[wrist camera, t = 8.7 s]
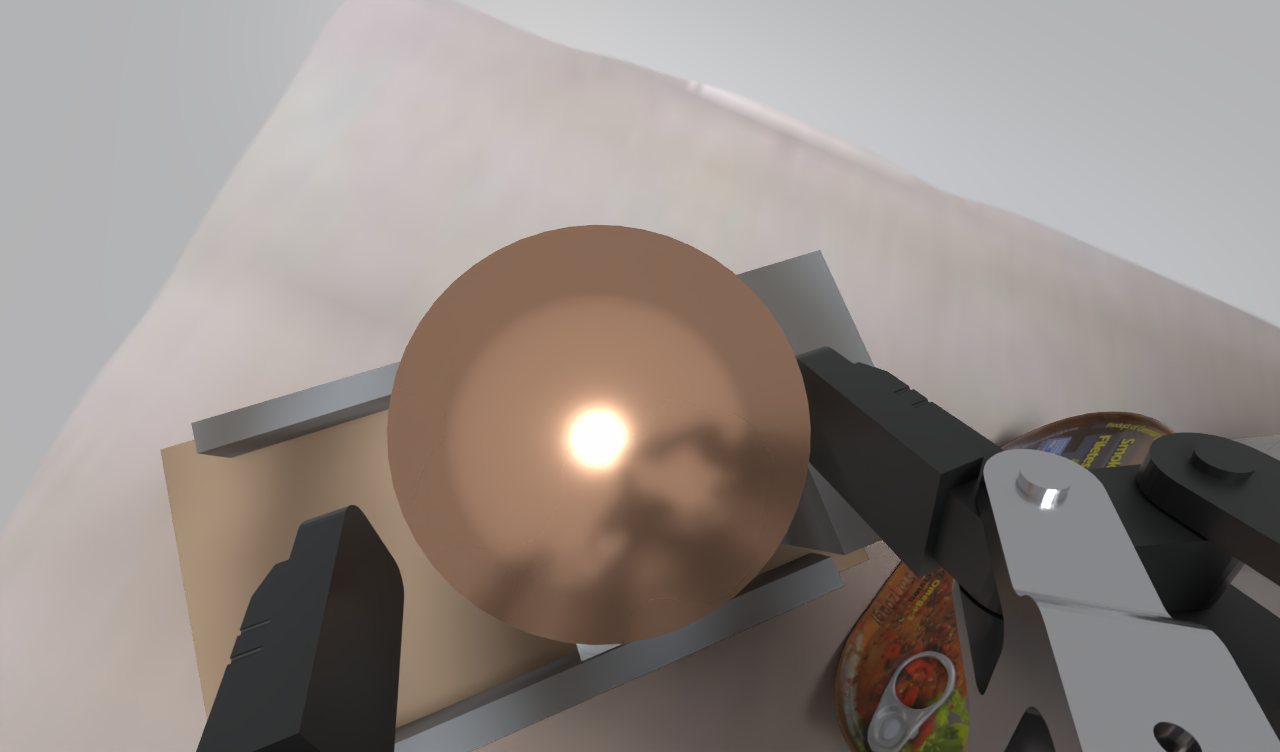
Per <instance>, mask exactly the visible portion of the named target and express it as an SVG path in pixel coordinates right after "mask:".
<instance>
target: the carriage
mask: <svg viewBox="0 0 1280 752" xmlns="http://www.w3.org/2000/svg"><path fill="white" fill-rule="evenodd" d="M810 435H811V425H810V415H809V406H808V399H807V394H806V390H805V386H804V381H803V377H802V374H801V371H800V368H799V366H798V363H797V360H796V357H795V355H794V352H793V350H792V348H791V346H790V344H789V342H788V340H787V338H786V336H785V334H784V332H783V330H782V329H781V327H780V326H779V324H778V323H777V321H776V320H775V318H774V317H773V315H772V314H771V312H770V311H769V309H768V308H767V307H766V306H765V304H764V303H763V302H762V301H761V300H760V299H759V297H758V296H757V295H756V294H755V293H754V292H753V290H752V289H751V288H749V287H748V286H747V285H746V284H745V283H744V282H743V281H742V280H741V279H740V278H739V277H737V276H736V275H735V274H734V273H733V272H732V271H730V270H729V269H728V268H726V267H725V266H723V265H722V264H721V263H719V262H718V261H716V260H715V259H714V258H712V257H710V256H708V255H707V254H705V253H703V252H701V251H699V250H698V249H696V248H694V247H692V246H690V245H688V244H685V243H683V242H680V241H678V240H675V239H673V238H671V237H668V236H664V235H661V234H657V233H654V232H650V231H647V230H642V229H636V228H629V227H623V226H608V225H588V226H575V227H567V228H562V229H557V230H552V231H547V232H543V233H540V234H537V235H534V236H531V237H527V238H524V239H521V240H519V241H517V242H515V243H512V244H510V245H508V246H506V247H504V248H502V249H500V250H498V251H496V252H494V253H492V254H491V255H489V256H488V257H486V258H485V259H483V260H481V261H480V262H478V263H477V264H475V265H474V266H472V267H471V268H470V269H469V270H468V271H466V272H465V273H464V274H463V275H461V276H460V277H459V278H458V279H457V280H455V281H454V282H453V283H452V284H451V285H450V286H449V287H448V288H447V289H446V290H445V292H444V293H443V294H442V295H441V296H440V297H439V298H438V299H437V300H436V301H435V302H434V304H433V305H432V306H431V308H430V309H429V311H428V312H427V313H426V315H425V316H424V317H423V319H422V320H421V322H420V323H419V325H418V327H417V328H416V330H415V332H414V334H413V336H412V338H411V339H410V341H409V343H408V345H407V347H406V349H405V352H404V354H403V357H402V359H401V362H400V365H399V367H398V370H397V372H396V376H395V380H394V384H393V389H392V393H391V397H390V402H389V413H388V423H387V444H388V460H389V466H390V471H391V477H392V482H393V487H394V490H395V493H396V496H397V499H398V502H399V505H400V508H401V511H402V514H403V517H404V519H405V520H406V522H407V524H408V526H409V528H410V530H411V532H412V534H413V536H414V538H415V540H416V542H417V544H418V545H419V547H420V548H421V549H422V551H423V552H424V554H425V555H426V557H427V558H428V559H429V561H430V562H431V564H432V565H433V567H434V568H435V569H436V570H437V571H438V572H439V573H440V574H441V575H442V576H443V577H444V578H445V579H446V580H447V582H448V583H449V584H450V585H451V586H452V587H453V588H454V589H455V590H456V591H458V592H459V593H460V594H461V595H463V596H464V597H465V598H466V599H468V600H469V601H470V602H472V603H473V604H474V605H475V606H477V607H478V608H479V609H481V610H483V611H484V612H486V613H488V614H490V615H491V616H493V617H495V618H496V619H498V620H500V621H502V622H503V623H505V624H507V625H510V626H512V627H515V628H517V629H520V630H522V631H525V632H527V633H530V634H532V635H535V636H539V637H544V638H548V639H552V640H556V641H560V642H565V643H576V645H577V648H578V651H579V655H580V658H581V661H583V660H586V659H588V658H591V657H593V656H595V655H598V654H600V653H602V652H605V651H607V650H609V649H612V648H614V647H616V646H619V645H621V644H626V643H631V642H636V641H641V640H646V639H651V638H656V637H659V636H662V635H664V634H667V633H670V632H673V631H676V630H679V629H682V628H684V627H686V626H688V625H690V624H692V623H694V622H696V621H698V620H700V619H702V618H703V617H705V616H707V615H709V614H711V613H712V612H714V611H715V610H716V609H718V608H719V607H721V606H722V605H724V604H725V603H726V602H728V601H729V600H731V599H732V598H733V597H735V596H736V595H737V594H738V593H739V592H740V591H741V590H742V589H743V588H744V587H745V586H746V585H747V584H748V583H749V582H751V581H752V580H753V579H754V578H755V577H756V575H757V574H758V573H759V572H760V570H761V569H762V568H763V567H764V566H765V564H766V563H767V562H768V561H769V559H770V558H771V557H772V556H773V554H774V552H775V551H776V549H777V548H778V546H779V544H780V543H781V541H782V539H783V538H784V536H785V534H786V533H787V531H788V529H789V526H790V524H791V522H792V520H793V517H794V515H795V513H796V510H797V508H798V506H799V502H800V499H801V495H802V492H803V489H804V485H805V482H806V477H807V470H808V464H809V457H810Z"/></svg>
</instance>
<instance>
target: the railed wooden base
mask: <svg viewBox="0 0 1280 752" xmlns="http://www.w3.org/2000/svg"><path fill="white" fill-rule="evenodd" d="M736 276H737V277H739V278H740V279H741V280H742V281H743V282H744V283H745V284H746V285H747V286H748V287H749V288H751V289H752V290H753V292H754V293H755V294H756V295H757V296H758V297H759V299H760V300H761V301H762V302H763V303H764V304H765V306H766V307H767V308H768V309H769V311H770V312H771V314H772V315H773V317H774V318H775V320H776V321H777V323H778V324H779V326H780V327H781V329H782V330H783V332H784V334H785V336H786V338H787V340H788V342H789V344H790V346H791V348H792V350H793V352H794V355H795V356H797V355H800V354H803V353H806V352H809V351H812V350H815V349H818V348H821V347H824V346H827V347H830V348H832V349H833V350H835V351H836V352H838V353H839V354H841V355H842V356H843V357H845V358H846V359H848V360H849V361H850V362H852V363H853V364H854V363H857V362H861V363H864V364H867V365H870V366H872V367H874V365H873V363H872V361H871V359H870V356H869V354H868V352H867V350H866V348H865V346H864V344H863V341H862V339H861V337H860V335H859V333H858V331H857V328H856V326H855V324H854V322H853V320H852V318H851V316H850V313H849V311H848V309H847V307H846V305H845V303H844V301H843V298H842V296H841V294H840V292H839V290H838V288H837V285H836V283H835V281H834V279H833V277H832V275H831V273H830V270H829V268H828V266H827V264H826V262H825V260H824V258H823V255H822V253H821V251H820V250H818V251H815V252H812V253H808V254H805V255H802V256H798V257H795V258H792V259H788V260H785V261H782V262H778V263H775V264H772V265H768V266H765V267H762V268H758V269H755V270H752V271H748V272H745V273H742V274H738V275H736ZM399 365H400V362H397V363H394V364H390V365H387V366H384V367H380V368H377V369H374V370H370V371H367V372H363V373H360V374H357V375H353V376H350V377H346V378H343V379H340V380H336V381H333V382H329V383H326V384H323V385H319V386H316V387H313V388H309V389H306V390H302V391H299V392H296V393H292V394H289V395H285V396H282V397H279V398H275V399H272V400H269V401H265V402H262V403H258V404H255V405H252V406H248V407H245V408H241V409H238V410H235V411H231V412H228V413H225V414H221V415H218V416H214V417H211V418H208V419H204V420H201V421H197V422H194V423H192V428H193V433H194V439H195V440H192V441H188V442H185V443H182V444H178V445H175V446H172V447H168V448H165V449H162V450H161V455H162V461H163V467H164V473H165V478H166V484H167V490H168V496H169V502H170V507H171V513H172V519H173V525H174V531H175V536H176V542H177V548H178V554H179V560H180V565H181V571H182V577H183V583H184V589H185V594H186V600H187V606H188V612H189V618H190V623H191V629H192V635H193V641H194V647H195V652H196V658H197V664H198V670H199V676H200V681H201V687H202V693H203V699H204V705H205V710H206V716H207V720H208V717H209V715H210V712H211V709H212V706H213V703H214V700H215V698H216V695H217V692H218V689H219V686H220V684H221V681H222V678H223V675H224V672H225V670H226V667H227V665H228V664H231V659H230V655H231V653H232V650H233V647H234V644H235V641H236V639H237V636H239V635H241V631H240V627H241V625H242V622H243V619H244V616H245V613H246V610H247V608H248V605H249V602H250V599H251V597H252V595H253V594H254V592H255V591H256V590H257V588H258V587H259V586H260V584H261V583H262V582H263V580H264V579H265V578H266V576H267V575H268V573H269V572H270V571H271V569H272V568H273V567H274V565H275V564H277V563H280V562H283V561H286V560H289V558H290V554H291V551H292V548H293V545H294V541H295V538H296V535H297V531H298V529H299V526H300V525H301V523H302V522H303V521H305V520H308V519H311V518H314V517H317V516H320V515H323V514H326V513H329V512H332V511H335V510H337V509H340V508H343V507H346V506H349V505H356V506H357V507H359V508H360V509H361V510H362V512H363V513H364V514H365V516H366V517H367V519H368V520H369V522H370V523H371V525H372V526H373V528H374V529H375V531H376V532H377V534H378V535H379V537H380V538H381V540H382V541H383V543H384V544H385V546H386V547H387V549H388V550H389V552H390V553H391V555H392V556H393V558H394V559H395V561H396V563H397V565H398V567H399V570H400V573H401V576H402V580H403V585H404V610H403V625H402V641H401V656H400V671H399V686H398V702H397V717H396V732H395V747H394V752H471V751H473V750H475V749H478V748H480V747H482V746H484V745H487V744H489V743H491V742H493V741H496V740H498V739H500V738H502V737H505V736H507V735H509V734H511V733H514V732H516V731H518V730H520V729H523V728H525V727H527V726H529V725H532V724H534V723H536V722H538V721H541V720H543V719H545V718H548V717H550V716H552V715H554V714H557V713H559V712H561V711H563V710H566V709H568V708H570V707H572V706H575V705H577V704H579V703H581V702H584V701H586V700H588V699H590V698H593V697H595V696H597V695H599V694H602V693H604V692H606V691H608V690H611V689H613V688H615V687H617V686H620V685H622V684H624V683H627V682H629V681H631V680H633V679H636V678H638V677H640V676H642V675H645V674H647V673H649V672H651V671H654V670H656V669H658V668H660V667H663V666H665V665H667V664H669V663H672V662H674V661H676V660H678V659H681V658H683V657H685V656H687V655H690V654H692V653H694V652H696V651H699V650H701V649H703V648H706V647H708V646H710V645H712V644H715V643H717V642H719V641H721V640H724V639H726V638H728V637H730V636H733V635H735V634H737V633H739V632H742V631H744V630H746V629H748V628H751V627H753V626H755V625H757V624H760V623H762V622H764V621H766V620H769V619H771V618H773V617H775V616H778V615H780V614H782V613H785V612H787V611H789V610H791V609H794V608H796V607H798V606H800V605H803V604H805V603H807V602H809V601H812V600H814V599H816V598H818V597H821V596H823V595H825V594H827V593H830V592H832V591H834V590H836V589H839V588H841V587H843V586H844V585H843V582H842V580H841V578H840V575H839V572H841V571H844V570H846V569H848V568H851V567H853V566H855V565H857V564H860V563H862V562H864V561H867V560H869V557H868V555H867V553H866V550H865V548H864V547H866V546H868V545H870V544H873V543H875V542H877V541H880V540H882V539H881V538H880V537H879V536H878V535H877V534H876V532H875V531H874V530H873V529H872V528H871V527H870V526H869V525H868V524H867V523H866V522H865V521H864V520H863V519H862V518H861V517H860V515H859V514H858V513H857V512H856V511H855V510H854V509H853V508H852V507H851V506H850V505H849V504H848V503H847V502H846V501H845V500H844V498H843V497H842V496H841V495H840V494H839V493H838V492H837V491H836V490H835V489H834V488H833V487H832V486H831V485H830V484H829V483H828V482H827V480H826V479H825V478H824V477H823V476H822V475H821V474H820V473H819V472H818V471H817V470H816V469H815V468H814V467H813V466H812V465H811V463H810V462H809V464H808V470H807V477H806V482H805V485H804V489H803V492H802V495H801V499H800V502H799V506H798V508H797V510H796V513H795V515H794V517H793V520H792V522H791V524H790V526H789V529H788V531H787V533H786V534H785V536H784V538H783V539H782V541H781V543H780V544H779V546H778V548H777V549H776V551H775V552H774V554H773V556H772V557H771V558H770V559H769V561H768V562H767V563H766V564H765V566H764V567H763V568H762V569H761V570H760V572H759V573H758V574H757V575H756V577H755V578H754V579H753V580H752V581H751V582H749V583H748V584H747V585H746V586H745V587H744V588H743V589H742V590H741V591H740V592H739V593H738V594H737V595H736V596H735V597H733V598H732V599H731V600H729V601H728V602H726V603H725V604H724V605H722V606H721V607H719V608H718V609H716V610H715V611H714V612H712V613H711V614H709V615H707V616H705V617H703V618H702V619H700V620H698V621H696V622H694V623H692V624H690V625H688V626H686V627H684V628H682V629H679V630H676V631H673V632H670V633H667V634H664V635H662V636H659V637H656V638H651V639H646V640H641V641H636V642H631V643H626V644H621V645H619V646H616V647H614V648H612V649H609V650H607V651H605V652H602V653H600V654H598V655H595V656H593V657H591V658H588V659H586V660H583V661H581V658H580V655H579V651H578V648H577V645H576V643H565V642H560V641H556V640H552V639H548V638H544V637H539V636H535V635H532V634H530V633H527V632H525V631H522V630H520V629H517V628H515V627H512V626H510V625H507V624H505V623H503V622H502V621H500V620H498V619H496V618H495V617H493V616H491V615H490V614H488V613H486V612H484V611H483V610H481V609H479V608H478V607H477V606H475V605H474V604H473V603H472V602H470V601H469V600H468V599H466V598H465V597H464V596H463V595H461V594H460V593H459V592H458V591H456V590H455V589H454V588H453V587H452V586H451V585H450V584H449V583H448V582H447V580H446V579H445V578H444V577H443V576H442V575H441V574H440V573H439V572H438V571H437V570H436V569H435V568H434V567H433V565H432V564H431V562H430V561H429V559H428V558H427V557H426V555H425V554H424V552H423V551H422V549H421V548H420V547H419V545H418V544H417V542H416V540H415V538H414V536H413V534H412V532H411V530H410V528H409V526H408V524H407V522H406V520H405V519H404V517H403V514H402V511H401V508H400V505H399V502H398V499H397V496H396V493H395V490H394V487H393V482H392V477H391V471H390V466H389V460H388V444H387V423H388V413H389V402H390V397H391V393H392V389H393V384H394V380H395V376H396V372H397V370H398V367H399Z"/></svg>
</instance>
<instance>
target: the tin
mask: <svg viewBox="0 0 1280 752" xmlns="http://www.w3.org/2000/svg"><path fill="white" fill-rule="evenodd" d="M1173 433H1174V432H1173V431H1172V430H1171V429H1170V428H1169V427H1168V426H1166V425H1165V424H1164V423H1162V422H1160V421H1158V420H1156V419H1153V418H1150V417H1146V416H1143V415H1140V414H1135V413H1128V412H1098V413H1088V414H1084V415H1079V416H1074V417H1070V418H1066V419H1063V420H1060V421H1057V422H1054V423H1050V424H1048V425H1045V426H1043V427H1040V428H1038V429H1036V430H1034V431H1031V432H1029V433H1027V434H1024V435H1022V436H1020V437H1018V438H1016V439H1015V440H1013V441H1011V442H1009V443H1007V444H1006V445H1004V446H1002V447H1000V448H1001V449H1003V450H1005V451H1007V450H1012V449H1032V450H1040V451H1044V452H1049V453H1053V454H1056V455H1059V456H1062V457H1064V458H1067V459H1069V460H1071V461H1073V462H1075V463H1077V464H1079V465H1081V466H1082V467H1084V468H1085V469H1096V468H1106V467H1117V466H1127V465H1138V464H1142V462H1143V460H1144V458H1145V456H1146V454H1147V452H1148V450H1149V448H1150V446H1151V444H1152V443H1153V442H1154V441H1155V440H1156V439H1157V438H1159V437H1162V436H1164V435H1168V434H1173ZM953 579H954V578H953V577H952V576H951V575H950V574H949V573H948V572H947V571H946V570H945V569H944V568H941V569H939V570H936V571H934V572H932V573H930V574H927V575H925V576H923V577H921V578H918V577H917V576H916V575H915V574H914V573H913V572H912V571H911V570H910V569H909V567H908V566H907V565H906V564H905V563H904V562H903V561H902V562H901V563H900V565H899V566H898V567H897V569H896V570H895V571H894V573H893V574H892V575H891V577H890V578H889V579H888V581H887V582H886V584H885V585H884V586H883V588H882V589H881V591H880V592H879V593H878V595H877V596H876V597H875V599H874V600H873V602H872V603H871V604H870V606H869V607H868V608H867V610H866V611H865V613H864V614H863V615H862V617H861V618H860V620H859V621H858V623H857V624H856V626H855V627H854V629H853V630H852V632H851V634H850V636H849V638H848V640H847V642H846V645H845V647H844V649H843V652H842V655H841V658H840V661H839V665H838V668H837V673H836V680H835V691H834V701H835V710H836V716H837V720H838V724H839V727H840V729H841V732H842V734H843V737H844V739H845V741H846V743H847V744H848V746H849V748H850V749H851V751H852V752H969V728H970V705H969V697H968V690H967V684H966V678H965V671H964V665H963V659H962V653H961V646H960V640H959V634H958V627H957V621H956V615H955V608H954V602H953V596H952V583H953Z"/></svg>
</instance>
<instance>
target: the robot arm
mask: <svg viewBox="0 0 1280 752" xmlns="http://www.w3.org/2000/svg"><path fill="white" fill-rule="evenodd" d="M795 357H796V360H797V363H798V366H799V368H800V371H801V374H802V377H803V381H804V386H805V390H806V394H807V399H808V406H809V415H810V425H811V435H810V457H809V462H810V463H811V465H812V466H813V467H814V468H815V469H816V470H817V471H818V472H819V473H820V474H821V475H822V476H823V477H824V478H825V479H826V480H827V482H828V483H829V484H830V485H831V486H832V487H833V488H834V489H835V490H836V491H837V492H838V493H839V494H840V495H841V496H842V497H843V498H844V500H845V501H846V502H847V503H848V504H849V505H850V506H851V507H852V508H853V509H854V510H855V511H856V512H857V513H858V514H859V515H860V517H861V518H862V519H863V520H864V521H865V522H866V523H867V524H868V525H869V526H870V527H871V528H872V529H873V530H874V531H875V532H876V534H877V535H878V536H879V537H880V538H881V539H882V540H883V541H884V542H885V543H886V544H887V545H888V546H889V547H890V548H891V549H892V550H893V552H894V553H895V554H896V555H897V556H898V557H899V558H900V559H901V560H902V561H903V562H904V563H905V564H906V565H907V566H908V567H909V569H910V570H911V571H912V572H913V573H914V574H915V575H916V576H917V577H918V578H921V577H923V576H925V575H927V574H930V573H932V572H934V571H936V570H939V569H941V568H944V569H945V570H946V571H947V572H948V573H949V574H950V575H951V576H952V577H953V578H954V579H953V583H952V596H953V602H954V608H955V615H956V621H957V627H958V634H959V640H960V646H961V653H962V659H963V665H964V671H965V678H966V684H967V690H968V697H969V705H970V728H969V752H1280V434H1278V435H1268V436H1259V437H1250V438H1240V439H1231V440H1230V439H1227V438H1223V437H1218V436H1214V435H1208V434H1201V433H1173V434H1168V435H1164V436H1162V437H1159V438H1157V439H1156V440H1155V441H1154V442H1153V443H1152V444H1151V446H1150V448H1149V450H1148V452H1147V454H1146V456H1145V458H1144V460H1143V462H1142V464H1138V465H1127V466H1117V467H1106V468H1096V469H1085V468H1084V467H1082V466H1081V465H1079V464H1077V463H1075V462H1073V461H1071V460H1069V459H1067V458H1064V457H1062V456H1059V455H1056V454H1053V453H1049V452H1044V451H1040V450H1032V449H1012V450H1007V451H1005V450H1003V449H1001V448H1000V447H998V446H997V445H995V444H994V443H992V442H991V441H989V440H988V439H986V438H985V437H983V436H982V435H981V434H979V433H978V432H976V431H975V430H973V429H972V428H970V427H969V426H967V425H966V424H964V423H963V422H961V421H960V420H958V419H957V418H955V417H954V416H952V415H951V414H949V413H948V412H946V411H945V410H943V409H942V408H941V407H939V406H938V405H936V404H935V403H933V402H930V403H929V402H928V400H927V398H926V397H924V396H923V395H921V394H920V393H918V392H917V391H915V390H914V389H913V390H910V389H909V386H908V385H906V384H905V383H903V382H902V381H900V380H899V379H898V378H896V377H895V376H893V375H892V374H890V373H889V372H887V371H884V370H881V369H878V368H875V367H872V366H870V365H867V364H864V363H861V362H857V363H854V364H853V363H852V362H850V361H849V360H848V359H846V358H845V357H843V356H842V355H841V354H839V353H838V352H836V351H835V350H833V349H832V348H830V347H827V346H824V347H821V348H818V349H815V350H812V351H809V352H806V353H803V354H800V355H797V356H795ZM403 610H404V585H403V580H402V576H401V573H400V570H399V567H398V565H397V563H396V561H395V559H394V558H393V556H392V555H391V553H390V552H389V550H388V549H387V547H386V546H385V544H384V543H383V541H382V540H381V538H380V537H379V535H378V534H377V532H376V531H375V529H374V528H373V526H372V525H371V523H370V522H369V520H368V519H367V517H366V516H365V514H364V513H363V512H362V510H361V509H360V508H359V507H357V506H356V505H349V506H346V507H343V508H340V509H337V510H335V511H332V512H329V513H326V514H323V515H320V516H317V517H314V518H311V519H308V520H305V521H303V522H302V523H301V525H300V526H299V529H298V531H297V535H296V538H295V541H294V545H293V548H292V551H291V554H290V558H289V560H286V561H283V562H280V563H277V564H275V565H274V567H273V568H272V569H271V571H270V572H269V573H268V575H267V576H266V578H265V579H264V580H263V582H262V583H261V584H260V586H259V587H258V588H257V590H256V591H255V592H254V594H253V595H252V597H251V599H250V602H249V605H248V608H247V610H246V613H245V616H244V619H243V622H242V625H241V627H240V631H241V635H239V636H237V639H236V641H235V644H234V647H233V650H232V653H231V655H230V659H231V664H228V665H227V667H226V670H225V672H224V675H223V678H222V681H221V684H220V686H219V689H218V692H217V695H216V698H215V700H214V703H213V706H212V709H211V712H210V715H209V717H208V720H207V723H206V726H205V729H204V731H203V734H202V737H201V740H200V743H199V745H198V748H197V751H196V752H394V747H395V732H396V717H397V702H398V686H399V671H400V656H401V641H402V625H403Z"/></svg>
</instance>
